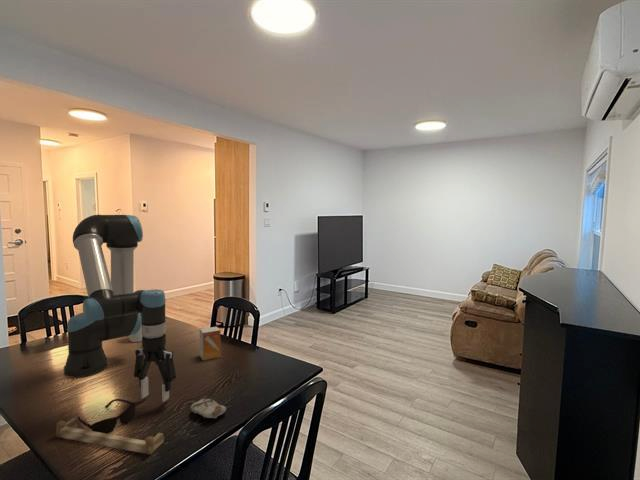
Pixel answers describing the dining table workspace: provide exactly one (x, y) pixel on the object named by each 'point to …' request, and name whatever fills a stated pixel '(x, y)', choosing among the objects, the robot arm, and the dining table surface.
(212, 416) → the stone
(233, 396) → the dining table surface
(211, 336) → the small box
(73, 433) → the beige long bar
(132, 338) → the cup
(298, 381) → the dining table surface
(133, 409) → the sunglasses
